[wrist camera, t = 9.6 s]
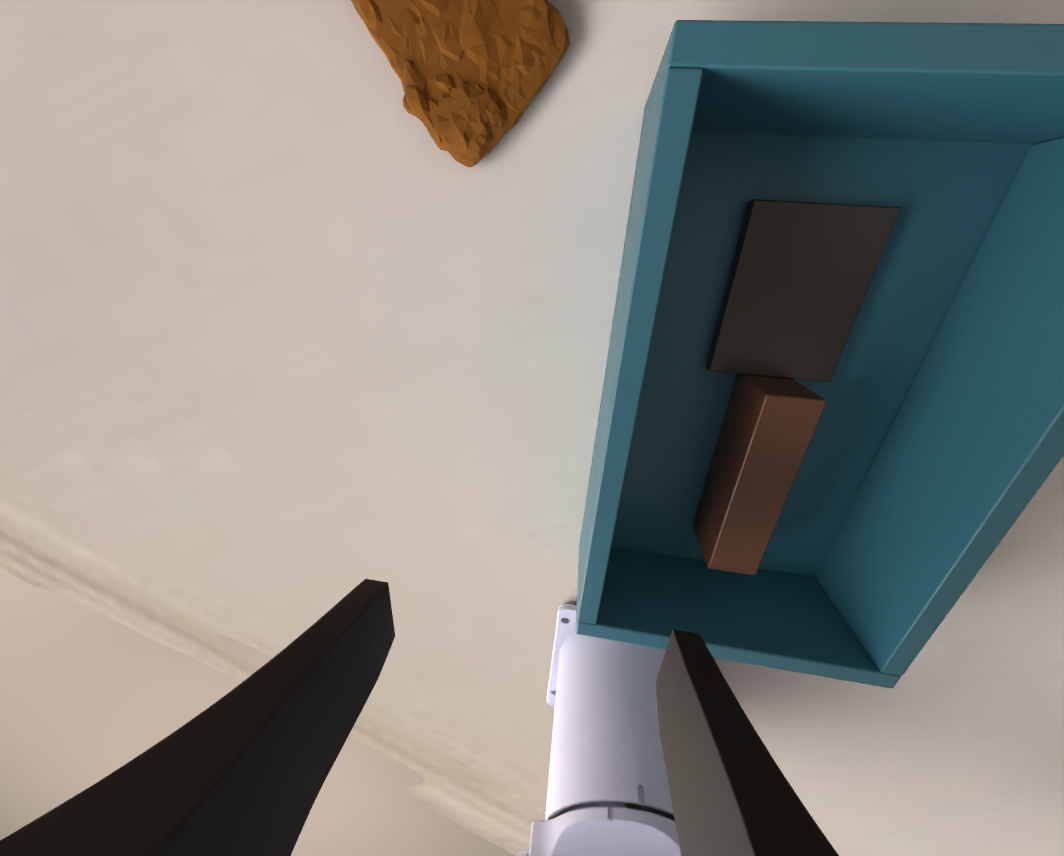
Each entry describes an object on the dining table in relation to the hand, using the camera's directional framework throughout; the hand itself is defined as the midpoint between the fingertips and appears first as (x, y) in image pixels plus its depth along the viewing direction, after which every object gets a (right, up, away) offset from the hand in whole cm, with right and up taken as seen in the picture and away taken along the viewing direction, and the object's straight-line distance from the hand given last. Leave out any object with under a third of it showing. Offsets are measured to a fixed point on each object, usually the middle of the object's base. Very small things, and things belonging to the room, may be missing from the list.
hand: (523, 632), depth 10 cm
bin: (+10, +7, +7) cm, 14 cm away
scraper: (+10, +7, +6) cm, 13 cm away
